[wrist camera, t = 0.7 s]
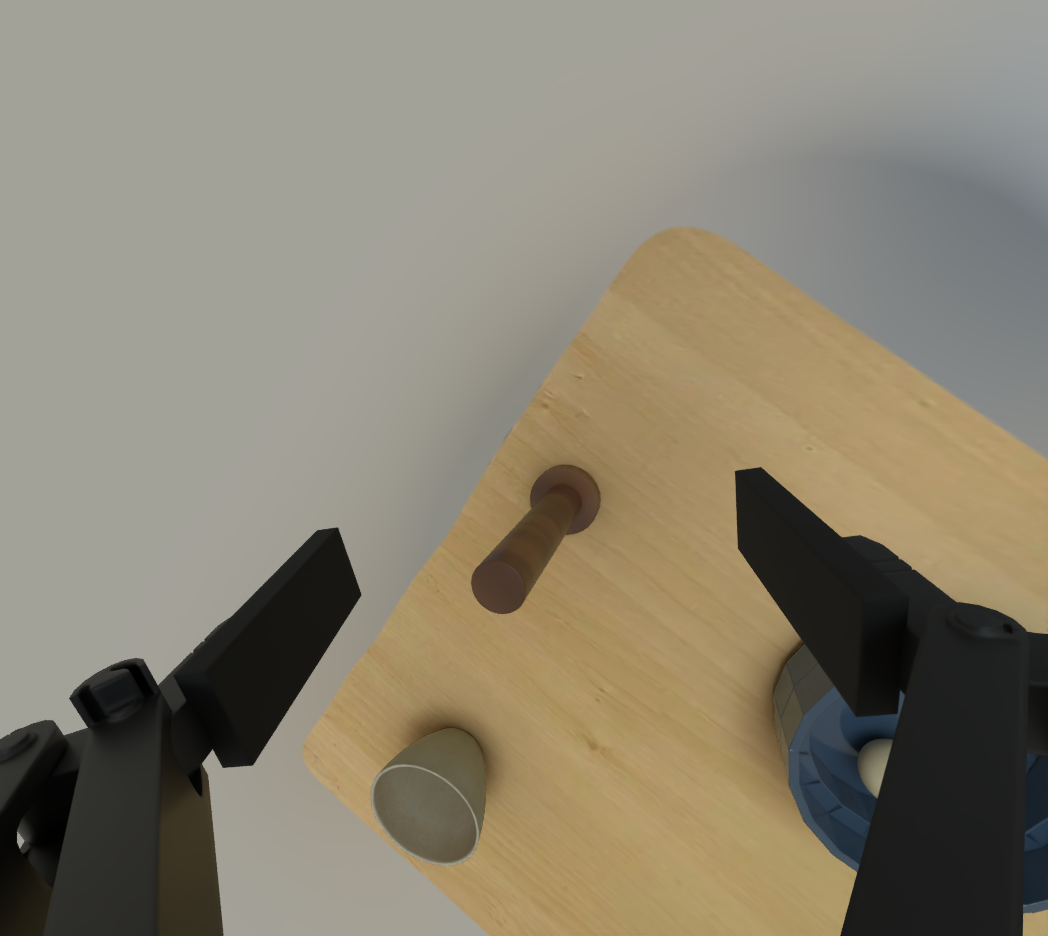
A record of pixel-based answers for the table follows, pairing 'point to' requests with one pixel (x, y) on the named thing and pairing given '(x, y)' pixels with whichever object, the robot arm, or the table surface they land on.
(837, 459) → the table surface
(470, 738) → the flower pot
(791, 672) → the bowl
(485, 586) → the wooden peg stand
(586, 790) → the table surface
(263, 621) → the robot arm
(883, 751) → the dough ball
